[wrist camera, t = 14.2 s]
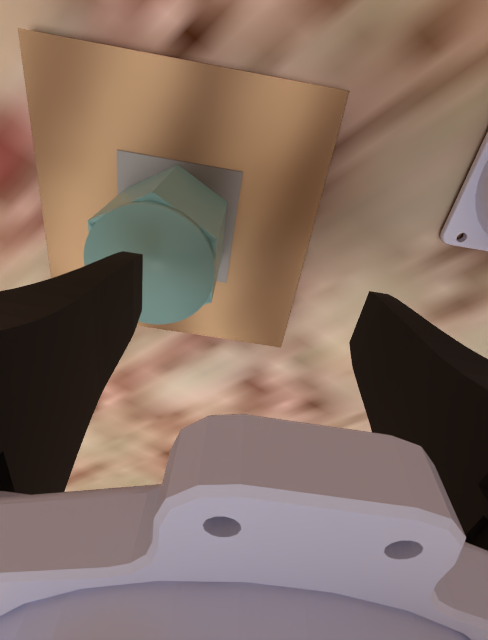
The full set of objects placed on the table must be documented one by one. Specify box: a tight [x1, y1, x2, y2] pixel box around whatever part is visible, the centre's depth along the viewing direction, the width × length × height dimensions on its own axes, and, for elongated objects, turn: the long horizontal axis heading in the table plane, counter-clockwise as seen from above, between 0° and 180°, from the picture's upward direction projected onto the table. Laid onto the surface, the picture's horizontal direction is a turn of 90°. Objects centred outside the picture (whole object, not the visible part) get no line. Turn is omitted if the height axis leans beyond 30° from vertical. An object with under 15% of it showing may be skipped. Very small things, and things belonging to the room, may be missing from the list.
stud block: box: [18, 28, 349, 347], centre depth 19 cm, size 14×14×5 cm
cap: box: [84, 165, 227, 324], centre depth 17 cm, size 5×6×6 cm
